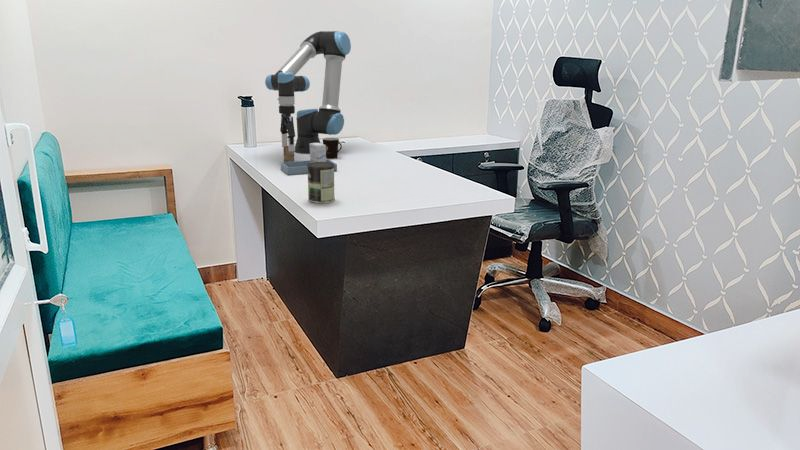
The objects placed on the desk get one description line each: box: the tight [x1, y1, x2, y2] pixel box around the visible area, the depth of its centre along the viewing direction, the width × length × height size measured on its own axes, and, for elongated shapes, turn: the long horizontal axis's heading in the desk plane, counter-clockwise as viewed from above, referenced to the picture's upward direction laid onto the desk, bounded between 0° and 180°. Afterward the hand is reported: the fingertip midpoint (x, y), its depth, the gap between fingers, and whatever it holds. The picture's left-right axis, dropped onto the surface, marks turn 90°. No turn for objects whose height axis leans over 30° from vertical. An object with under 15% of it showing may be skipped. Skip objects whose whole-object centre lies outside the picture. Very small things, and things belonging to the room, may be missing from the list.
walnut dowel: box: [282, 146, 295, 162], centre depth 294 cm, size 5×5×9 cm
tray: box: [280, 159, 338, 176], centre depth 282 cm, size 14×24×4 cm, turn 114°
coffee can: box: [307, 162, 335, 204], centre depth 229 cm, size 10×10×14 cm
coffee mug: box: [322, 137, 343, 160], centre depth 312 cm, size 12×9×10 cm
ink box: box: [309, 142, 326, 163], centre depth 283 cm, size 9×5×12 cm, turn 33°
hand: (288, 149), depth 293 cm, fingers open, 13 cm apart
